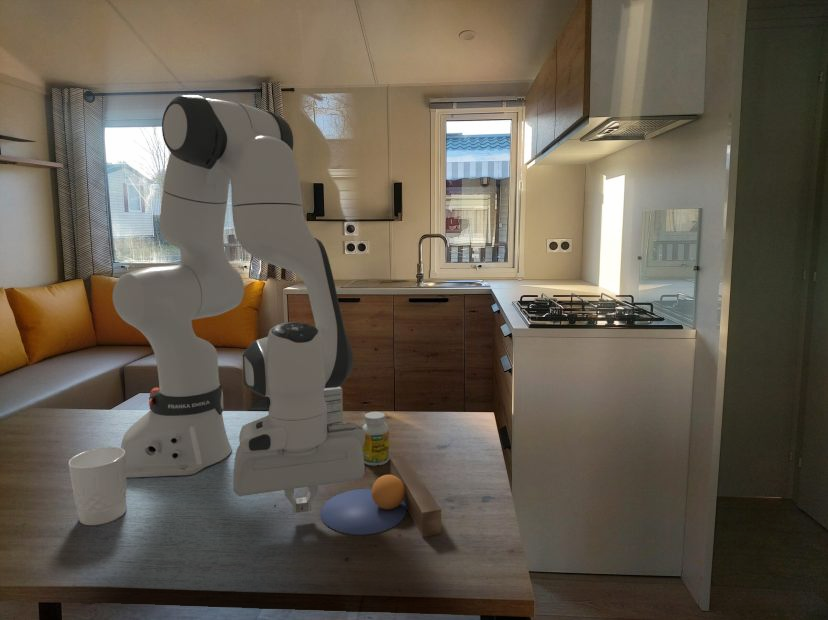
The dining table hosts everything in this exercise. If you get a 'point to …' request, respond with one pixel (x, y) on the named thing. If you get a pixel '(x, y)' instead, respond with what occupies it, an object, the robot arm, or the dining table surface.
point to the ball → (388, 492)
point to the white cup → (99, 484)
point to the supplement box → (334, 405)
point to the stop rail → (417, 497)
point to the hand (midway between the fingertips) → (301, 510)
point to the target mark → (359, 513)
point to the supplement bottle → (375, 439)
